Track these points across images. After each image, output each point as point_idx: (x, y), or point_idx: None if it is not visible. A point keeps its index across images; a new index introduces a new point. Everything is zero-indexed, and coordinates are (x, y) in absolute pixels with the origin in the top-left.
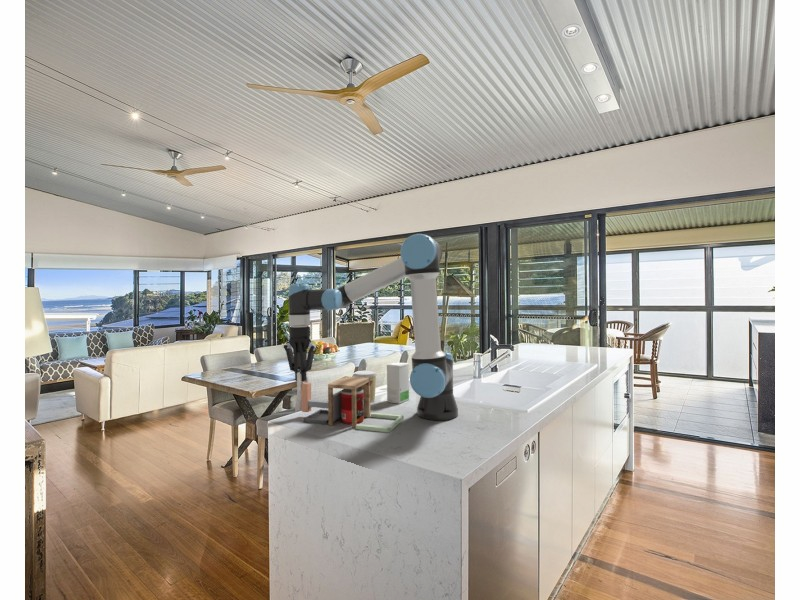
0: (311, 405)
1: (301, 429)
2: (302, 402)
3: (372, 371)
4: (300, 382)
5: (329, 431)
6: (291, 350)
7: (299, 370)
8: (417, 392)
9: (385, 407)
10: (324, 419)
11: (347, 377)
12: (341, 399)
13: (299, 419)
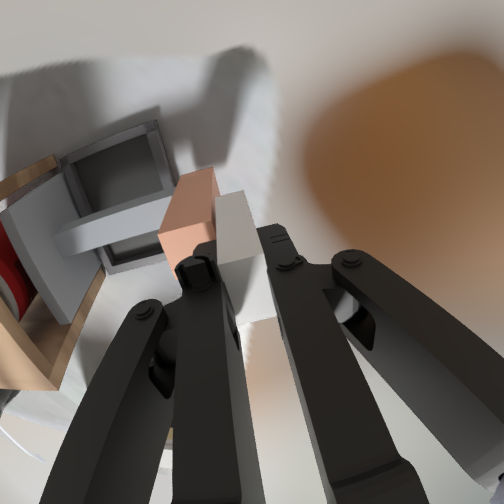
0: (158, 193)
1: (99, 59)
2: (207, 180)
3: (167, 468)
4: (217, 221)
5: (15, 116)
6: (479, 469)
7: (276, 308)
8: None
9: (85, 364)
10: (103, 185)
11: (28, 376)
12: (2, 246)
13: (199, 135)
